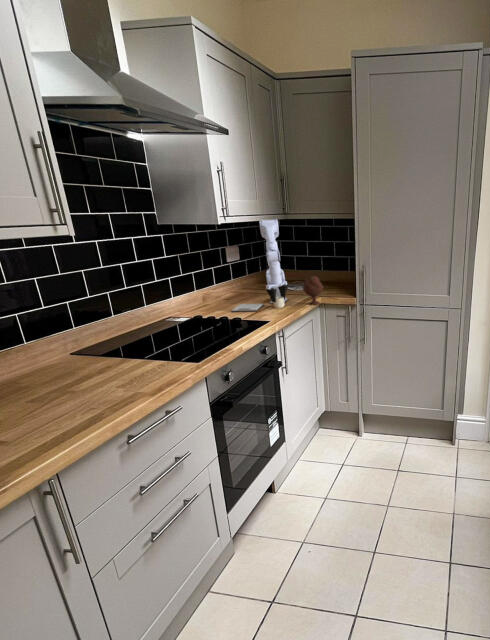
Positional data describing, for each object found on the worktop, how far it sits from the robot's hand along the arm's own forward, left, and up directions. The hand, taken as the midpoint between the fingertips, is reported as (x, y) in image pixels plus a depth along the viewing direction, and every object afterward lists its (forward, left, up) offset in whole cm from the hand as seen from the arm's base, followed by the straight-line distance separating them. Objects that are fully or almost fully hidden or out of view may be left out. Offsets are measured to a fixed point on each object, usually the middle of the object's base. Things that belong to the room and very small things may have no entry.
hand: (278, 300), depth 232 cm
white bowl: (0, 0, -3) cm, 3 cm away
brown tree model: (-6, +18, -3) cm, 19 cm away
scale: (+3, -16, -3) cm, 17 cm away
